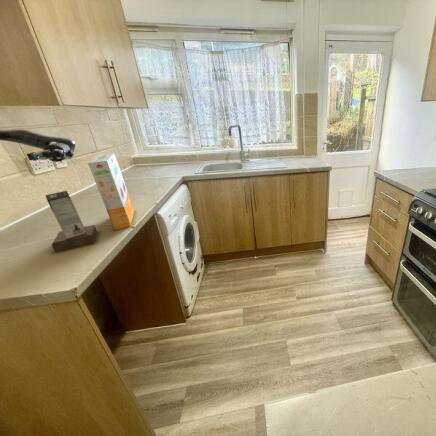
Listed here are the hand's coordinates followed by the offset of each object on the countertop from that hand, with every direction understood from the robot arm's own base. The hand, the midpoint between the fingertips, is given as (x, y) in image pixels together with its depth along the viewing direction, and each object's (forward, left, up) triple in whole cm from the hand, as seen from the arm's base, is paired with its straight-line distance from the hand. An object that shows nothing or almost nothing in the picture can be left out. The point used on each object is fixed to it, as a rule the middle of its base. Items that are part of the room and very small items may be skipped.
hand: (47, 156), depth 99 cm
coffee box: (+3, -18, -28) cm, 33 cm away
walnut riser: (+3, -18, -32) cm, 37 cm away
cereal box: (+19, -3, -32) cm, 37 cm away
